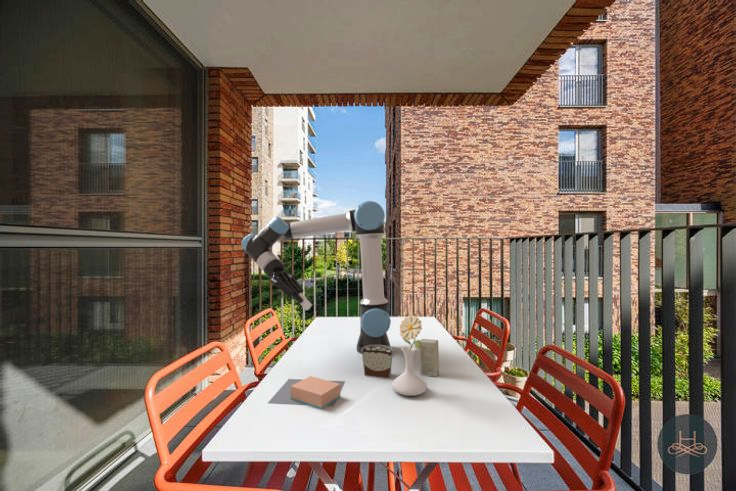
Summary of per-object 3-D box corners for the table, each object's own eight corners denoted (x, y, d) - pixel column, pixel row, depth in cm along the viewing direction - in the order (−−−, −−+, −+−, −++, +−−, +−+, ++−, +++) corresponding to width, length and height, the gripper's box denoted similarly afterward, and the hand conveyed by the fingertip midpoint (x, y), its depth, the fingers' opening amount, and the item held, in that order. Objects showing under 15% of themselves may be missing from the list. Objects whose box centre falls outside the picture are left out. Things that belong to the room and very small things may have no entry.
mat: (345, 383, 114) (345, 381, 114) (333, 408, 96) (333, 406, 96) (288, 380, 117) (288, 378, 117) (267, 405, 99) (267, 403, 99)
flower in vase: (385, 387, 111) (384, 311, 111) (415, 381, 115) (414, 309, 115) (404, 404, 99) (404, 319, 99) (437, 397, 103) (436, 316, 103)
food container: (398, 373, 123) (397, 345, 123) (393, 379, 117) (393, 351, 117) (366, 369, 127) (366, 342, 127) (360, 375, 121) (360, 347, 121)
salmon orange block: (290, 386, 101) (321, 395, 95) (310, 376, 109) (340, 383, 102) (290, 399, 101) (321, 409, 95) (310, 388, 109) (340, 397, 102)
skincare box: (439, 373, 123) (439, 339, 123) (436, 377, 119) (436, 343, 119) (422, 370, 125) (422, 337, 125) (419, 374, 121) (418, 341, 121)
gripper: (275, 271, 140) (312, 311, 133) (254, 273, 127) (293, 318, 121) (285, 257, 138) (323, 298, 131) (265, 258, 126) (305, 303, 119)
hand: (309, 307), depth 126 cm, fingers closed
